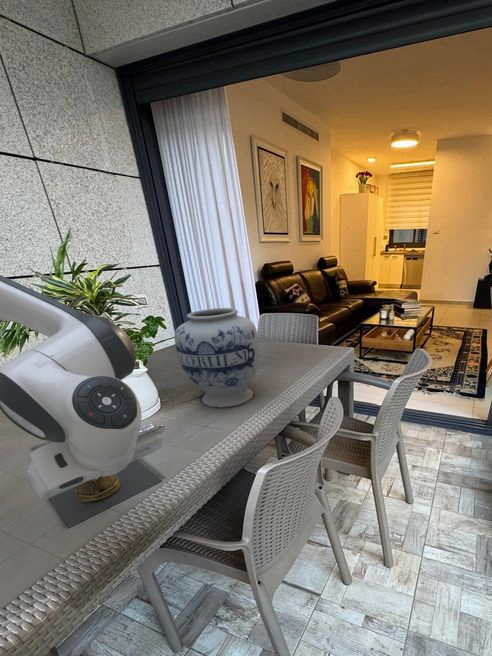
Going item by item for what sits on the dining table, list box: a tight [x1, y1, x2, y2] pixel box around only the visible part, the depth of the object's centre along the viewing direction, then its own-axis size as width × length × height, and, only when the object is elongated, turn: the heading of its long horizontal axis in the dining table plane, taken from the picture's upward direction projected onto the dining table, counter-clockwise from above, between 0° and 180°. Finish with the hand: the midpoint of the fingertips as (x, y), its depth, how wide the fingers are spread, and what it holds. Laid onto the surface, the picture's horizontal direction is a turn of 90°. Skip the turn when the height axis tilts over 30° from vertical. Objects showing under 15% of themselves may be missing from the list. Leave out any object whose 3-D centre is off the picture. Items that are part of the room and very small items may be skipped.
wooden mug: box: [76, 474, 121, 503], centre depth 76 cm, size 9×14×18 cm, turn 29°
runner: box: [48, 459, 163, 529], centre depth 86 cm, size 20×28×1 cm
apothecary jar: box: [174, 307, 261, 409], centre depth 119 cm, size 27×27×30 cm
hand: (101, 473), depth 66 cm, fingers closed
